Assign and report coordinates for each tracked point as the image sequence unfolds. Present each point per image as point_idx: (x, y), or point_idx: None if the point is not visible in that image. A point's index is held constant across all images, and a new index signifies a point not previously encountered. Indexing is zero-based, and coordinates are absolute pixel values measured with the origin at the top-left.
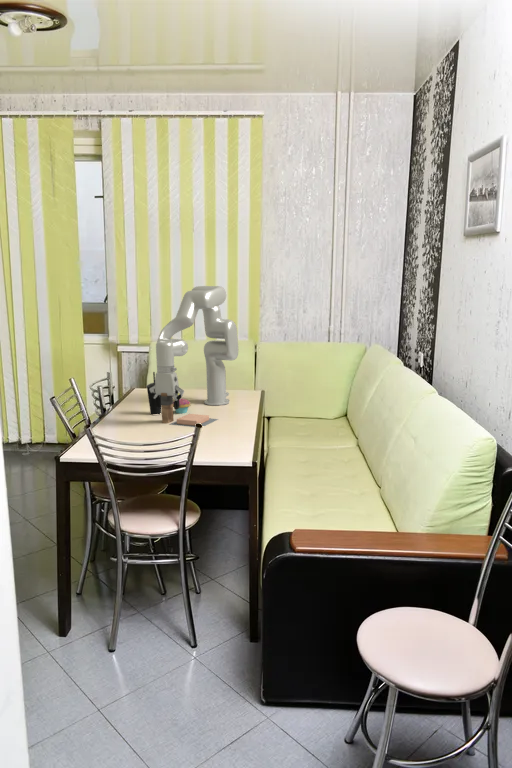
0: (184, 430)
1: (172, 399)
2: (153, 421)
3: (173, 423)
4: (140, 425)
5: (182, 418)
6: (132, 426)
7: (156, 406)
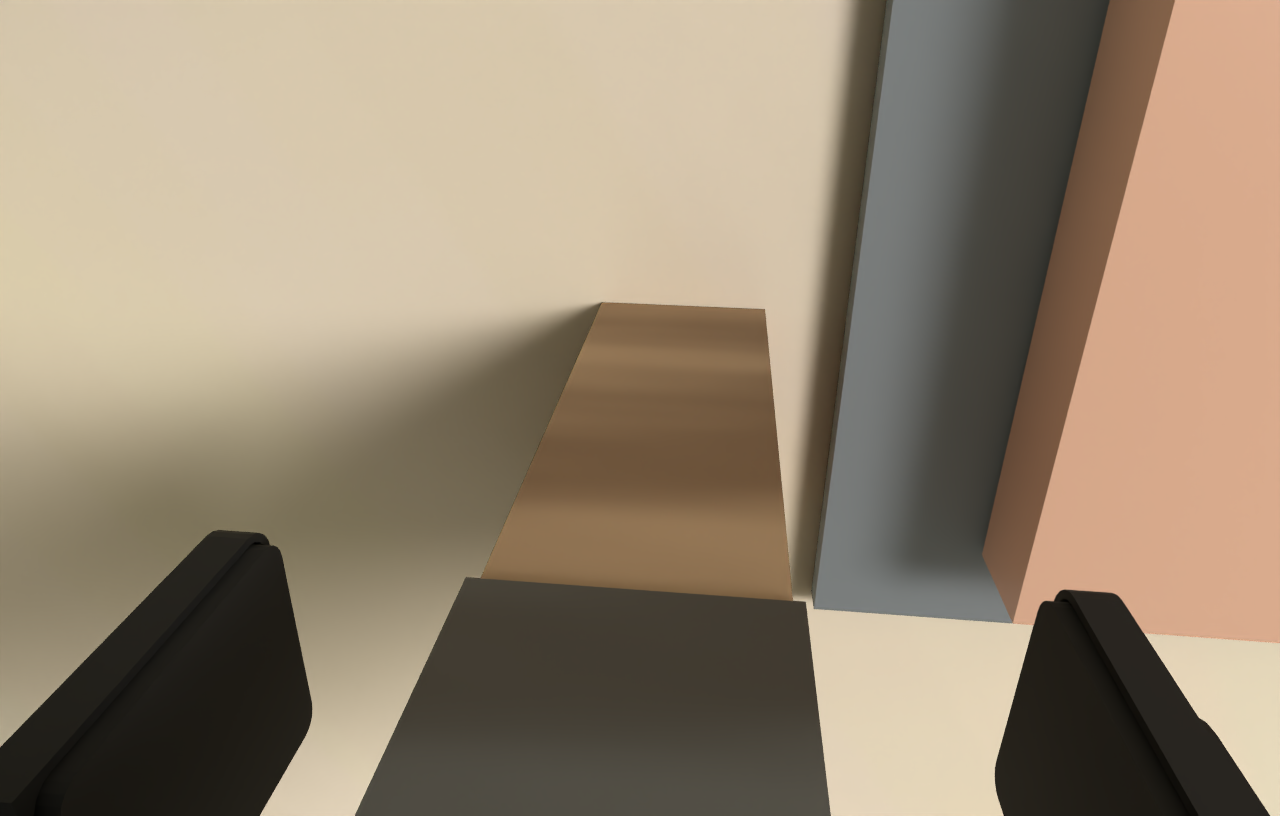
0: (1261, 776)
1: (817, 797)
2: (295, 386)
3: (880, 527)
4: None
5: (1152, 535)
6: None
7: (282, 757)
